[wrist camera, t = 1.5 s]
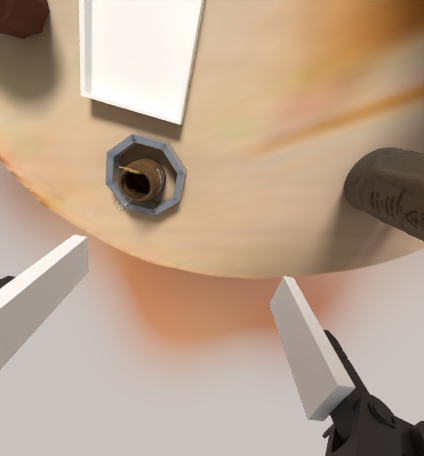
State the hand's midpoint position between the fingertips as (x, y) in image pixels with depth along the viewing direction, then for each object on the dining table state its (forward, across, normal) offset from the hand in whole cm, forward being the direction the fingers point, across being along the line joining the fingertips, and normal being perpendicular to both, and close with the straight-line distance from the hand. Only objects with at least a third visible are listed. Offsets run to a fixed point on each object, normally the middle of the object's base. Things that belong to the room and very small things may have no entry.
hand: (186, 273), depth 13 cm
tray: (+24, -12, +17) cm, 32 cm away
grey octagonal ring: (+24, -9, 0) cm, 26 cm away
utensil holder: (+25, -9, 0) cm, 26 cm away
